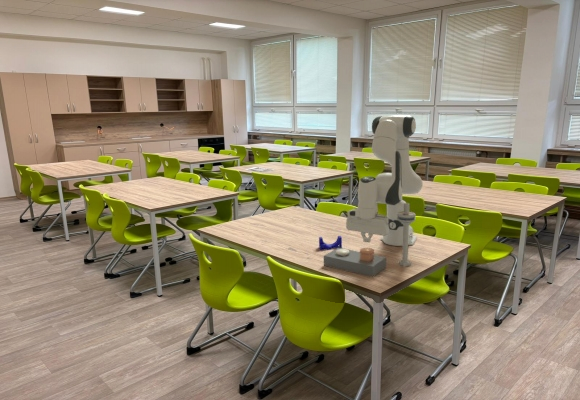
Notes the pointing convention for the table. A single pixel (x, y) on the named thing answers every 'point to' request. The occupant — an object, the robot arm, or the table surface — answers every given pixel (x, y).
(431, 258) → the table surface
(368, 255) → the terracotta plunger
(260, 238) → the table surface
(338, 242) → the cable clip
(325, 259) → the console
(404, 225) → the model tower
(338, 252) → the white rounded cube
